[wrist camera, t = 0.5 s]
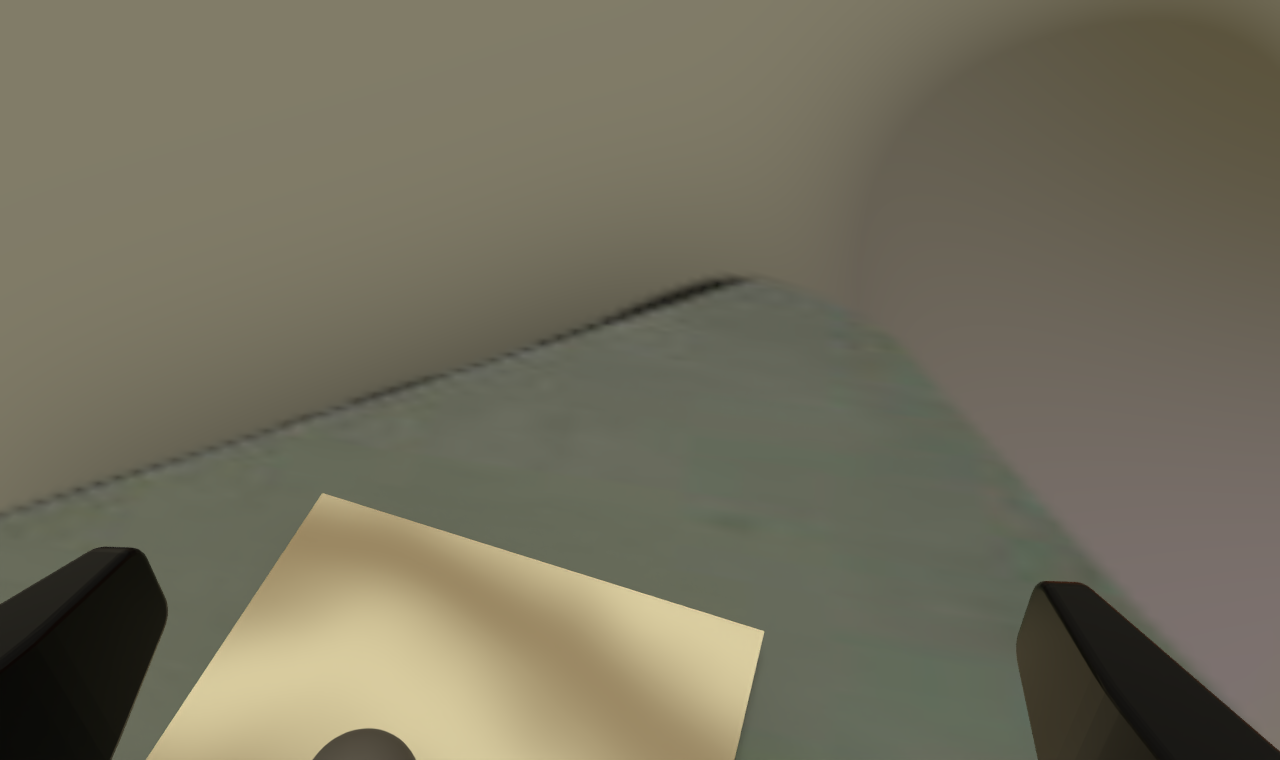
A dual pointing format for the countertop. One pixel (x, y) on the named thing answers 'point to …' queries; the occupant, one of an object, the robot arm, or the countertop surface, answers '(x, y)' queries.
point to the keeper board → (458, 659)
